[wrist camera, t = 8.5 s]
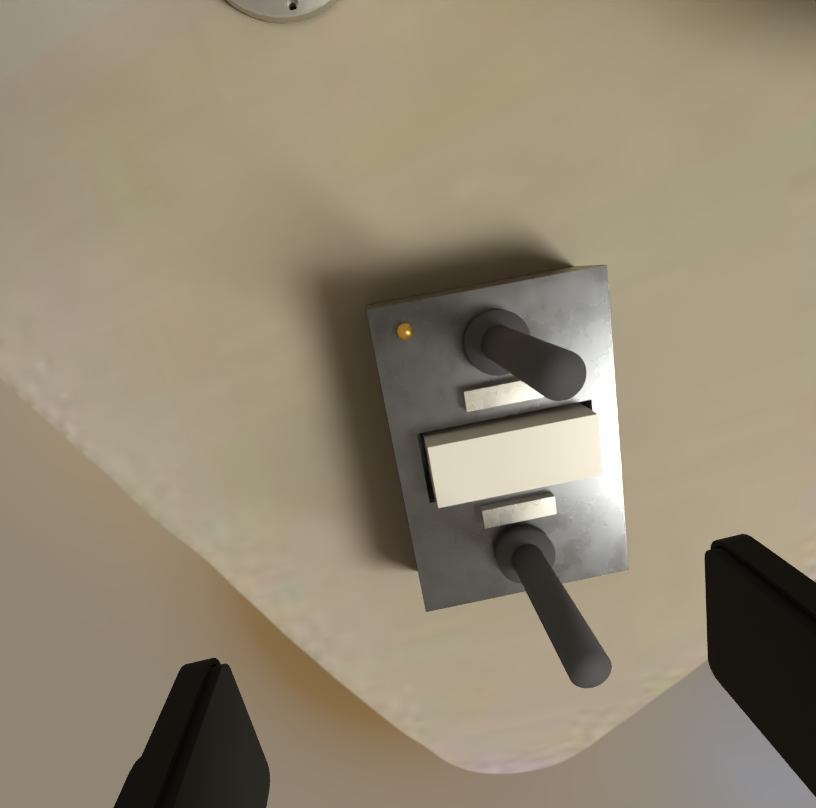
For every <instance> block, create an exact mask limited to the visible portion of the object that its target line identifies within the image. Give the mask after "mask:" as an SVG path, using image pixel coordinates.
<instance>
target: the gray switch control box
mask: <svg viewBox="0 0 816 808" xmlns="http://www.w3.org/2000/svg"><path fill="white" fill-rule="evenodd" d="M490 309H503V310H507V311H510V312H513V313H515V314H517V315H518V316H520V317H521V318H522V319H523V320H524V321H525V323H526V324H527V326H528V328H529V331H530V335H531V336H533V337H535V338H538V339H541V340H543V341H546V342H549V343H551V344H554V345H557V346H560V347H562V348H565V349H568V350H570V351H573V352H575V353H576V354H578V355H579V356H580V357H581V358H582V360H583V361H584V363H585V366H586V380H585V383H584V385H583V387H582V389H581V390H580V391H579V392H578V393H577V394H576V395H575V396H573V397H572V398H570V399H568V400H564V401H553V400H550V399H547V398H546V397H544V396H543V395H541V394H540V393H538V392H537V391H536V390H534V389H533V388H531V387H530V386H528V385H527V384H525V383H524V382H522V381H521V380H519V379H518V378H517V377H515V376H514V375H512V374H511V373H509V374H506V375H500V376H493V375H488V374H485V373H483V372H481V371H480V370H478V369H477V368H476V367H475V366H473V365H472V364H471V363H470V361H469V360H468V359H467V357H466V355H465V352H464V348H463V338H464V333H465V330H466V328H467V326H468V324H469V323H470V322H471V320H472V319H473V318H474V317H475V316H477V315H478V314H480V313H481V312H483V311H486V310H490ZM366 312H367V317H368V322H369V327H370V332H371V337H372V342H373V347H374V352H375V357H376V362H377V367H378V372H379V377H380V382H381V387H382V392H383V398H384V403H385V408H386V413H387V418H388V423H389V428H390V433H391V438H392V443H393V448H394V453H395V458H396V463H397V468H398V473H399V478H400V483H401V488H402V493H403V498H404V503H405V508H406V513H407V518H408V523H409V529H410V534H411V539H412V544H413V549H414V554H415V559H416V564H417V569H418V574H419V579H420V584H421V589H422V594H423V599H424V604H425V609H426V612H428V611H433V610H438V609H443V608H447V607H452V606H457V605H462V604H467V603H471V602H476V601H481V600H486V599H491V598H495V597H500V596H505V595H510V594H514V593H519V592H524V591H525V589H524V587H523V585H522V584H519V583H515V582H512V581H510V580H509V579H507V578H506V577H505V576H504V575H503V574H502V572H501V571H500V568H499V566H498V564H497V562H496V559H495V546H496V543H497V541H498V539H499V538H500V537H501V536H502V534H503V533H505V532H506V531H507V530H509V529H510V528H512V527H515V526H518V525H532V526H536V527H538V528H540V529H541V530H542V531H543V532H544V533H545V534H546V535H547V536H548V538H549V539H550V541H551V542H552V544H553V546H554V548H555V562H554V564H553V567H552V569H553V571H554V572H555V574H556V575H557V577H558V578H559V580H560V582H561V583H567V582H572V581H577V580H582V579H586V578H591V577H596V576H601V575H605V574H610V573H615V572H620V571H625V570H628V557H627V543H626V529H625V514H624V500H623V486H622V472H621V458H620V443H619V429H618V415H617V401H616V387H615V372H614V358H613V344H612V330H611V315H610V301H609V287H608V273H607V265H593V266H573V267H567V268H562V269H557V270H551V271H546V272H541V273H535V274H530V275H525V276H519V277H514V278H509V279H503V280H498V281H493V282H487V283H482V284H477V285H471V286H466V287H461V288H455V289H450V290H445V291H439V292H434V293H429V294H424V295H418V296H413V297H408V298H402V299H397V300H392V301H386V302H381V303H376V304H370V305H366ZM576 402H579V403H580V404H582V405H584V406H585V407H587V408H589V409H590V410H592V411H594V412H595V413H597V414H598V421H599V433H600V446H601V458H602V470H603V475H600V476H595V477H590V478H585V479H581V480H576V481H571V482H566V483H561V484H556V485H551V486H546V487H541V488H536V489H531V490H526V491H521V492H516V493H511V494H506V495H501V496H496V497H491V498H487V499H482V500H477V501H472V502H467V503H462V504H457V505H452V506H447V507H442V508H438V505H437V502H436V499H435V496H434V492H433V489H432V486H431V483H430V479H429V476H428V473H427V467H426V462H425V456H424V451H423V445H422V440H421V434H420V433H424V432H429V431H434V430H439V429H444V428H449V427H454V426H459V425H464V424H469V423H475V422H480V421H485V420H490V419H495V418H500V417H505V416H510V415H515V414H520V413H525V412H530V411H535V410H541V409H546V408H551V407H556V406H561V405H566V404H571V403H576Z"/></svg>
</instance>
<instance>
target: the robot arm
mask: <svg viewBox="0 0 816 808" xmlns="http://www.w3.org/2000/svg"><path fill="white" fill-rule="evenodd" d="M226 1H227V2H228V3H229V4H231V5H232V6H233V7H235V8H236V9H238V10H240V11H242V12H244V13H245V14H247V15H249V16H251V17H254V18H257V19H261V20H264V21H267V22H276V23H291V22H300V21H303V20H306V19H309V18H312V17H314V16H317V15H318V14H320V13H321V12H323V11H325V10H326V9H328V8H329V7H331V6H332V5H333V4H334V3H335V2H336V1H337V0H226ZM291 6H295V7H296V9H295V10H290V8H291ZM705 582H706V613H707V644H708V661H709V665H710V668H711V670H712V672H713V674H714V676H715V677H716V679H717V680H718V681H719V683H720V684H721V685H722V686H723V688H724V689H725V690H726V691H727V692H728V693H729V695H730V696H731V697H732V698H733V699H734V700H735V702H736V703H737V704H738V705H739V706H740V708H741V709H742V710H743V711H744V712H745V713H746V715H747V716H748V717H749V718H750V720H751V721H752V722H753V723H754V724H755V725H756V727H757V728H758V729H759V730H760V731H761V733H762V734H763V735H764V736H765V737H766V738H767V740H768V741H769V742H770V743H771V744H772V746H773V747H774V748H775V749H776V750H777V752H778V753H779V754H780V755H781V756H782V758H783V759H784V760H785V761H786V762H787V763H788V765H789V766H790V767H791V768H792V769H793V771H794V772H795V773H796V774H797V775H798V776H799V778H800V779H801V780H802V781H803V782H804V784H805V785H806V786H807V787H808V788H809V790H810V791H811V792H812V793H813V794H814V795H815V796H816V583H815V582H814V581H813V580H811V579H810V578H808V577H807V576H806V575H804V574H803V573H801V572H800V571H799V570H797V569H796V568H794V567H793V566H792V565H790V564H789V563H787V562H786V561H785V560H783V559H782V558H780V557H779V556H778V555H776V554H775V553H773V552H772V551H771V550H769V549H768V548H766V547H765V546H764V545H762V544H761V543H759V542H758V541H757V540H755V539H754V538H752V537H751V536H749V535H746V534H740V535H736V536H732V537H728V538H723V539H719V540H715V541H713V543H712V544H711V550H708V551H706V553H705ZM269 787H270V773H269V767H268V764H267V761H266V759H265V756H264V753H263V751H262V748H261V746H260V743H259V740H258V738H257V736H256V733H255V730H254V728H253V725H252V722H251V720H250V717H249V715H248V712H247V710H246V707H245V704H244V702H243V699H242V697H241V694H240V692H239V689H238V687H237V684H236V681H235V679H234V676H233V674H232V671H231V669H230V667H229V665H228V664H220V662H219V660H218V659H216V658H211V659H206V660H202V661H198V662H194V663H190V664H185V665H184V666H182V668H181V669H180V671H179V673H178V675H177V678H176V680H175V682H174V684H173V686H172V689H171V691H170V693H169V695H168V698H167V700H166V703H165V705H164V707H163V709H162V711H161V713H160V716H159V718H158V720H157V722H156V725H155V727H154V729H153V732H152V734H151V736H150V738H149V740H148V743H147V745H146V747H145V750H144V752H143V754H142V756H141V757H140V758H139V759H138V760H137V761H136V762H135V764H134V765H133V767H132V769H131V771H130V773H129V775H128V777H127V779H126V781H125V783H124V786H123V788H122V790H121V792H120V795H119V797H118V799H117V802H116V803H115V806H114V808H266V806H267V800H268V794H269Z"/></svg>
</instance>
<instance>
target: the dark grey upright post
mask: <svg viewBox="0 0 816 808" xmlns="http://www.w3.org/2000/svg"><path fill="white" fill-rule="evenodd" d="M463 348H464V352H465V355H466V357H467V359H468V360H469V361H470V363H471V364H472V365H473V366H475V367H476V368H477V369H478V370H480V371H481V372H483V373H485V374H488V375H493V376H500V375H506V374H509V373H511V374H512V375H514V376H515V377H517V378H518V379H519V380H521V381H522V382H524V383H525V384H527V385H528V386H530V387H531V388H533V389H534V390H536V391H537V392H538V393H540V394H541V395H543V396H544V397H546V398H547V399H550V400H553V401H564V400H568V399H570V398H572V397H573V396H575V395H576V394H577V393H578V392H579V391H580V390H581V389H582V387H583V385H584V383H585V380H586V366H585V363H584V361H583V360H582V358H581V357H580V356H579V355H578V354H576V353H575V352H573V351H570V350H568V349H565V348H562V347H560V346H557V345H554V344H551V343H549V342H546V341H543V340H541V339H538V338H535V337H533V336H531V335H530V331H529V328H528V326H527V324H526V323H525V321H524V320H523V319H522V318H521V317H520V316H518V315H517V314H515V313H513V312H510V311H507V310H503V309H490V310H486V311H483V312H481V313H480V314H478V315H477V316H475V317H474V318H473V319H472V320H471V322H470V323H469V324H468V326H467V328H466V330H465V333H464V338H463Z"/></svg>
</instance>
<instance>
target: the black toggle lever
mask: <svg viewBox="0 0 816 808" xmlns="http://www.w3.org/2000/svg"><path fill="white" fill-rule="evenodd" d="M495 559H496V562H497V564H498V566H499V568H500V571H501V572H502V574H503V575H504V576H505V577H506V578H507V579H509V580H510V581H512V582H515V583H519V584H522V585H523V587H524V589H525V591H526V593H527V594H528V596H529V598H530V600H531V602H532V604H533V606H534V608H535V610H536V612H537V614H538V616H539V618H540V620H541V622H542V624H543V626H544V628H545V630H546V632H547V634H548V636H549V638H550V640H551V642H552V644H553V646H554V648H555V650H556V652H557V654H558V656H559V658H560V660H561V662H562V664H563V666H564V668H565V670H566V672H567V674H568V676H569V678H570V680H571V681H572V683H573V684H575V685H576V686H578V687H581V688H592V687H596V686H598V685H600V684H601V683H603V682H604V681H605V680H606V679H607V678H608V676H609V675H610V673H611V668H612V665H611V661H610V659H609V658H608V656H607V654H606V653H605V651H604V650H603V648H602V646H601V645H600V643H599V642H598V640H597V639H596V637H595V635H594V634H593V632H592V631H591V629H590V627H589V626H588V624H587V623H586V621H585V620H584V618H583V616H582V615H581V613H580V612H579V610H578V608H577V607H576V605H575V604H574V602H573V601H572V599H571V597H570V596H569V594H568V593H567V591H566V590H565V588H564V586H563V585H562V583H561V582H560V580H559V578H558V577H557V575H556V574H555V572H554V571H553V569H552V567H553V564H554V562H555V548H554V546H553V544H552V542H551V541H550V539H549V538H548V536H547V535H546V534H545V533H544V532H543V531H542V530H541V529H540V528H538V527H536V526H532V525H518V526H515V527H512V528H510V529H509V530H507V531H506V532H505V533H503V534H502V536H501V537H500V538H499V539H498V541H497V543H496V546H495Z"/></svg>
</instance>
